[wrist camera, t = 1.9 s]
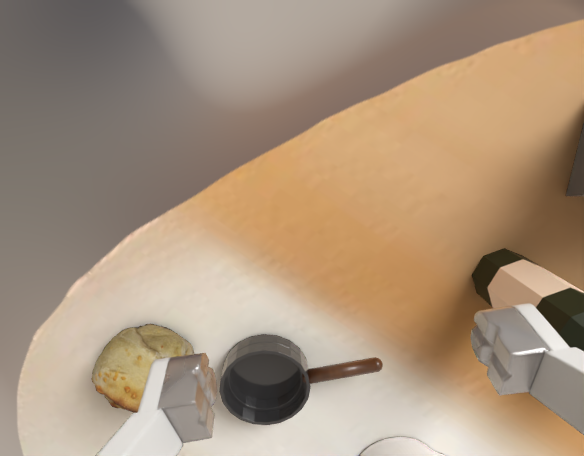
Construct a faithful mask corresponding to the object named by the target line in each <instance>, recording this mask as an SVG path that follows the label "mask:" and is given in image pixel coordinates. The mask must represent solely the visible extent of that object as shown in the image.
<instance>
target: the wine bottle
mask: <svg viewBox="0 0 584 456" xmlns="http://www.w3.org/2000/svg"><path fill="white" fill-rule="evenodd" d="M472 277H473V281H474V284H475V288H476V292H477V293H478V294H479V295H480V296H481V297H482V298H483V299H484V300H485V301H487V302H488V303H489V304H490V305H491V306H492V307H493V308H499V307H505V306H514V305H520V304H527V303H530V304H532V305H534V306H535V307H536V309H537V310H538V311H539V312H540V313H541V314H542V316H543V317H544V318H545V319H546V320H547V321H548V322H549V324H550V325H551V326H552V327H553V328H554V329H555V331H556V332H557V333H558V334H559V335H560V336H561V338H562V339H563V340H564V341H565V342H566V343H567V345H568V346H569V347H570V348H573V347H576V348H578V349H580V350H582V351H584V291H582V290H580V289H579V288H577V287H575V286H573V285H572V284H570V283H568V282H567V281H565V280H563V279H561V278H560V277H558V276H556V275H554V274H553V273H551V272H549V271H548V270H546V269H544V268H542V267H541V266H539V265H537V264H536V263H534V262H532V261H530V260H529V259H527V258H525V257H524V256H522V255H519V254H517V253H515V252H512V251H510V250H508V249H505V248H504V249H501V250H499V251H496V252H493V253H491V254H488V255H485V256H483V258H482V259H481V261H480V263H479V264H478V266H477V267H476V269H475V271H474V272H473V274H472Z"/></svg>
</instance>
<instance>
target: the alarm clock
mask: <svg viewBox="0 0 584 456" xmlns="http://www.w3.org/2000/svg"><path fill="white" fill-rule="evenodd" d="M566 196H584V124H583V128H582V132H581V136H580V140H579V144H578V148H577V152H576V156H575V161H574V165H573V169H572V173H571V177H570V181H569V185H568V189H567V193H566Z"/></svg>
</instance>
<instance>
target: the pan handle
mask: <svg viewBox="0 0 584 456" xmlns="http://www.w3.org/2000/svg"><path fill="white" fill-rule="evenodd" d="M382 366H383V364H382V361H381V360H380V359H379V358H376V357H375V358H369V359H363V360H357V361H352V362H346V363H341V364H335V365H330V366H324V367H318V368H313V369H307V371H308V377H309V383H310V384H312V383H318V382H323V381H329V380H334V379H340V378H346V377H351V376H357V375H362V374H368V373H374V372H378V371H380V370H381V369H382ZM302 380H303V381H304V382H305V383H306V380H305V376H304V374H303V373H302Z"/></svg>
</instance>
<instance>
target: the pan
mask: <svg viewBox="0 0 584 456" xmlns="http://www.w3.org/2000/svg"><path fill="white" fill-rule="evenodd" d="M307 369H308V366H307V361H306V358H305V356H304V354H303V353H302V351H301V350H300V348H299V347H297V346H296V345H295V344H294V343H292V342H291V341H290V340H287V339H285V338H282V337H280V336H277V335H266V334H263V335H257V336H251V337H249V338H247V339H245V340H243V341H241V342H239V343H238V344H237V345H236V346H235V347H234V348H233V349H232V350H230V351H229V353H228V355H227V357H226V359H225V361H224V366H223V371H222V375H221V381H220V394H221V398H222V401H223V403H224V405H225V406H226V407H227V409H228V410H229V411H230V413H232V414H233V415H235V416H236V417H237V418H239V419H240V420H243V421H246V422H249V423H252V424H259V425H270V424H276V423H281V422H283V421H285V420H287V419H289V418H292V417H293V416H294V415H295V414H297V413H298V412H299V411H300V410H301V409H302V408H303V406H304V405H305V403H306V401H307V400H308V397H309V391H310V383H309V377H308V371H307ZM302 373H303V374H304V376H305V380H306V383H305V382H304V381H303V380H302Z"/></svg>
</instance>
